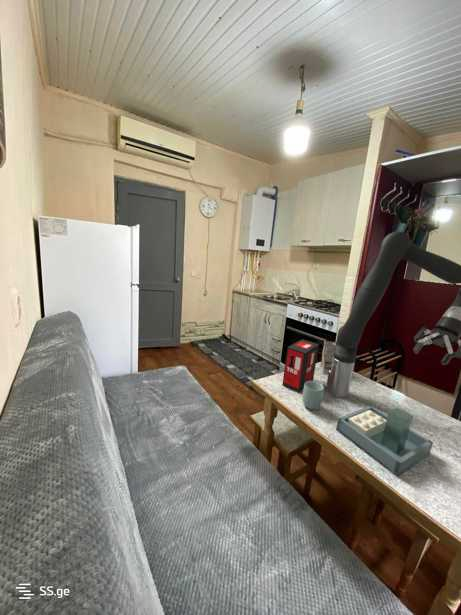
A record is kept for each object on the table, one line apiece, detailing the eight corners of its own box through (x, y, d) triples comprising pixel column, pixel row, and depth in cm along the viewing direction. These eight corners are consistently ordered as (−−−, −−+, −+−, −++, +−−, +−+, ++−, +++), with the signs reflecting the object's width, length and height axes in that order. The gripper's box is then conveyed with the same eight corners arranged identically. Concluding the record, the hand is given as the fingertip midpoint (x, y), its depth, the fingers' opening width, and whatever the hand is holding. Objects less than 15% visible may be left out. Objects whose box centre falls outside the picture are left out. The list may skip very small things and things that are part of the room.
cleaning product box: (299, 393, 118) (305, 353, 113) (282, 385, 123) (287, 347, 118) (313, 380, 130) (319, 344, 126) (296, 374, 136) (302, 339, 131)
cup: (311, 414, 103) (315, 392, 100) (297, 404, 109) (300, 383, 107) (324, 409, 107) (328, 388, 104) (309, 399, 113) (313, 379, 111)
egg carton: (346, 427, 95) (349, 415, 94) (367, 418, 101) (370, 407, 100) (363, 440, 89) (366, 427, 88) (384, 430, 95) (388, 417, 94)
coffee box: (334, 375, 138) (339, 347, 134) (322, 373, 139) (327, 346, 135) (331, 368, 146) (336, 341, 143) (320, 366, 148) (324, 340, 144)
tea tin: (380, 443, 88) (389, 411, 85) (388, 439, 90) (397, 407, 87) (395, 454, 84) (404, 420, 81) (403, 449, 86) (413, 416, 83)
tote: (335, 429, 95) (338, 418, 94) (368, 416, 104) (370, 405, 103) (396, 476, 76) (400, 463, 75) (429, 454, 86) (433, 442, 85)
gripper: (429, 310, 94) (404, 344, 93) (478, 323, 82) (450, 362, 81) (433, 321, 98) (409, 354, 97) (481, 334, 86) (454, 372, 85)
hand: (428, 358), depth 89 cm, fingers open, 8 cm apart
